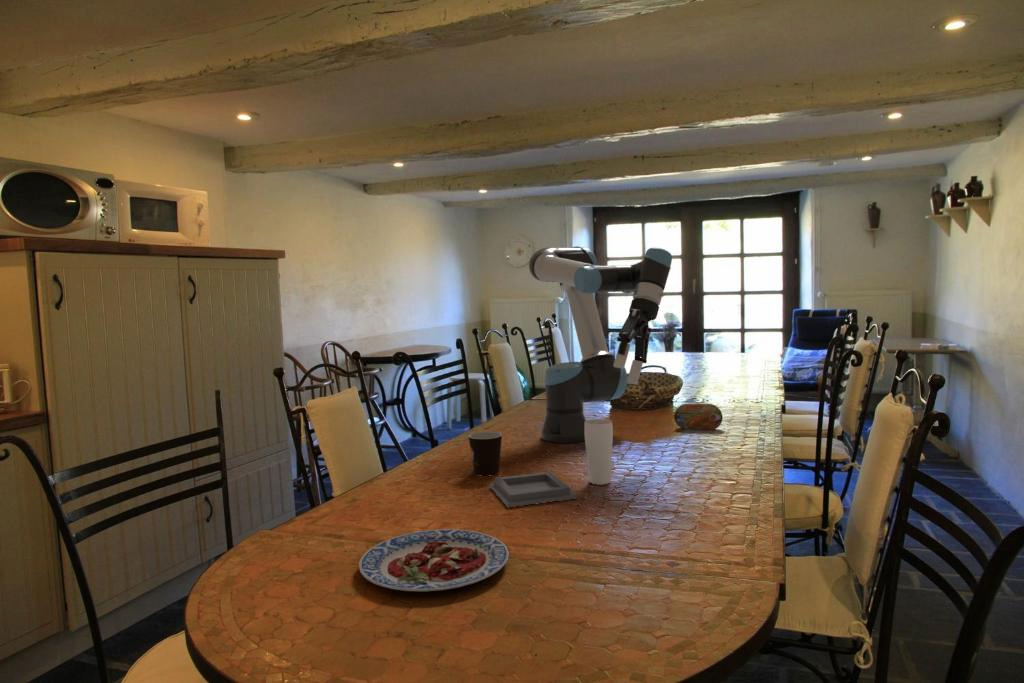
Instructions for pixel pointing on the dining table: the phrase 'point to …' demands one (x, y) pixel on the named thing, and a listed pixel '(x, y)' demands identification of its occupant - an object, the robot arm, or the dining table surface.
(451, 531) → the ceramic plate
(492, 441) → the coffee mug
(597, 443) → the drinking glass
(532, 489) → the plastic holder
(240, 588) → the dining table surface
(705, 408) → the tin
